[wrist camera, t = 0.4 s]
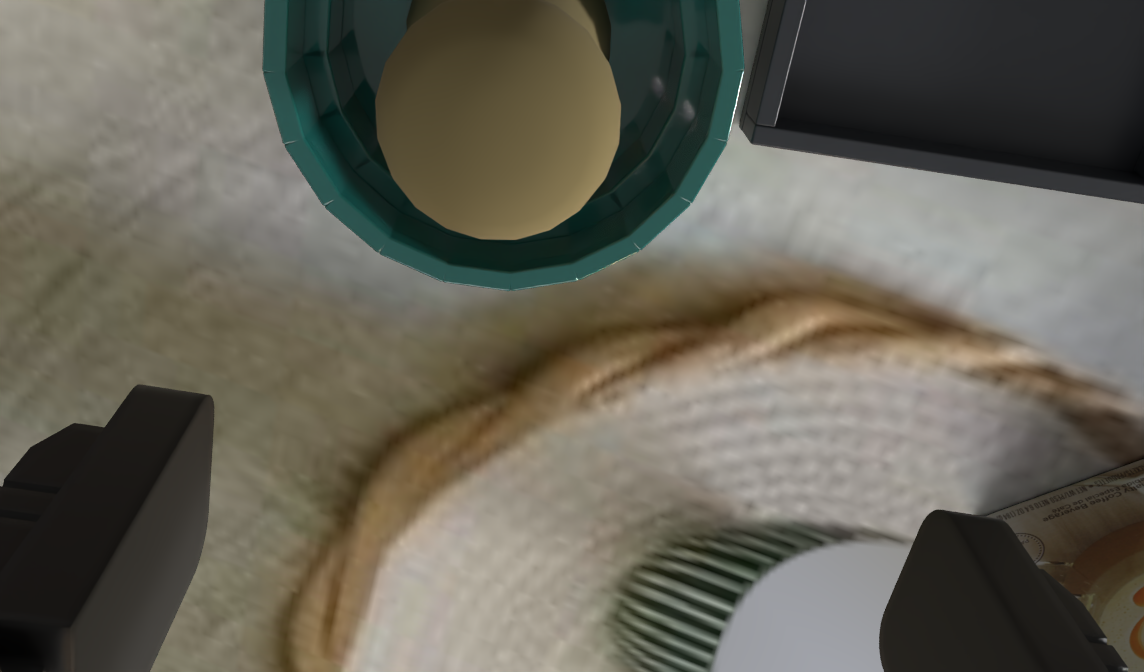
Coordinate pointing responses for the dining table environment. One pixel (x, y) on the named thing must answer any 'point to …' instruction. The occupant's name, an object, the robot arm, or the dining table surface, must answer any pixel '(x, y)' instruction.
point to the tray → (959, 88)
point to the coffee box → (1094, 550)
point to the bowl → (580, 243)
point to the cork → (500, 112)
